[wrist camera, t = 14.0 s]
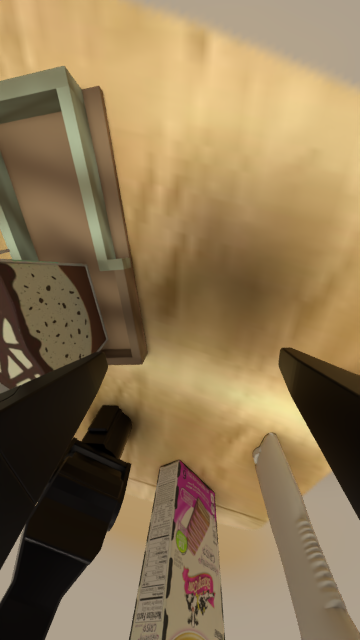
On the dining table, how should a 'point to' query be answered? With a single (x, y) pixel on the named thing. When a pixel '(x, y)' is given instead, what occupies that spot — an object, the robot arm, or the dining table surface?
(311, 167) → the dining table surface
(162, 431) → the dining table surface
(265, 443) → the light grey flat bottle
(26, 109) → the green flat tray
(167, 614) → the candy bar box
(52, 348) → the food container
